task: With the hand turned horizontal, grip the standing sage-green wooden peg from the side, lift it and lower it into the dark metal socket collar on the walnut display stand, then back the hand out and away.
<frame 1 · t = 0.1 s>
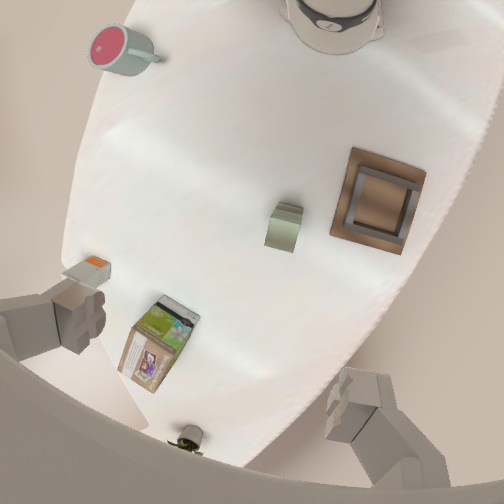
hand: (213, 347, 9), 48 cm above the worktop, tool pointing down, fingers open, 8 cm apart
green peg: (288, 216, 56), on the worktop
house plant: (197, 428, 83), on the worktop
tea box: (171, 326, 71), on the worktop
display stand: (378, 201, 52), on the worktop
mug: (143, 58, 51), on the worktop
skincare box: (101, 265, 69), on the worktop
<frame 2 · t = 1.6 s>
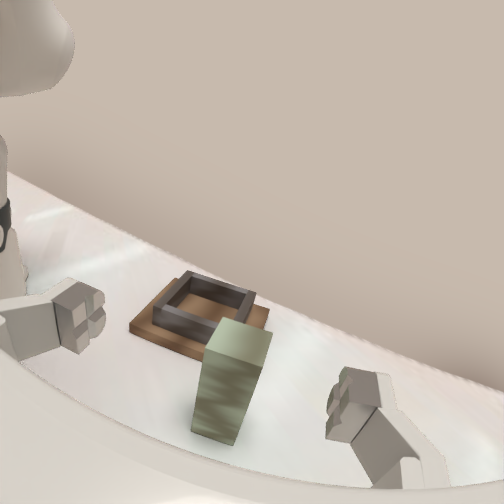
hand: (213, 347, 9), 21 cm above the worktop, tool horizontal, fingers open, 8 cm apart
green peg: (218, 423, 28), on the worktop
display stand: (203, 325, 43), on the worktop
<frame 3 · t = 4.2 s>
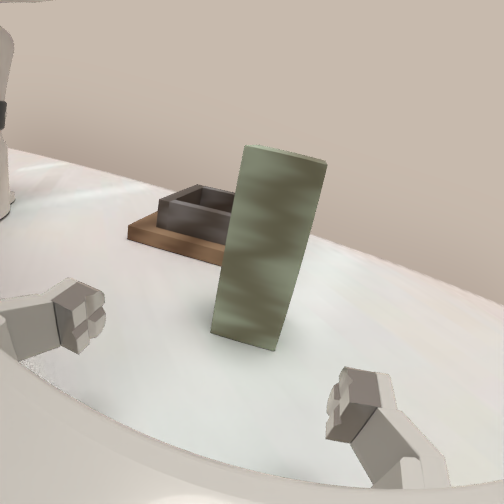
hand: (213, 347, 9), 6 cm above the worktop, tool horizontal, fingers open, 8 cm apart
green peg: (248, 324, 22), on the worktop
display stand: (217, 237, 37), on the worktop
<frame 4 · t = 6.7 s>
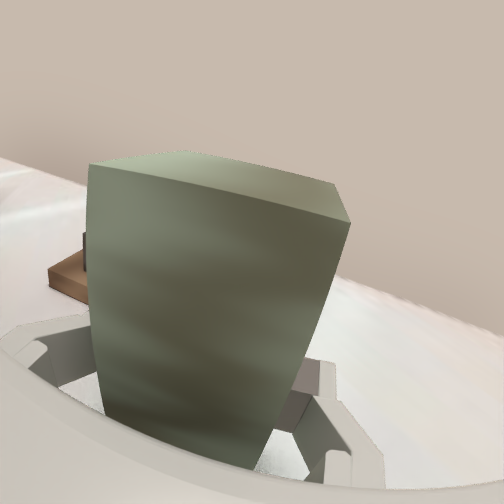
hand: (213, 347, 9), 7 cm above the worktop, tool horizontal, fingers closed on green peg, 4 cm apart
green peg: (190, 464, 11), on the worktop, touching gripper
display stand: (175, 280, 26), on the worktop
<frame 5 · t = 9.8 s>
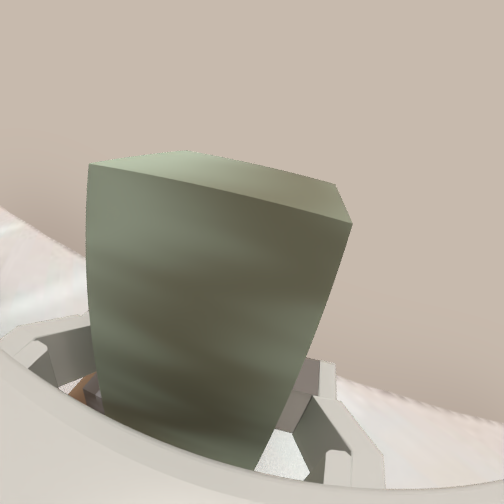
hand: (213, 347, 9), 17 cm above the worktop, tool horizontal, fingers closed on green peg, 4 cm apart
green peg: (190, 464, 11), point 10 cm above the worktop, touching gripper
display stand: (172, 404, 25), on the worktop
when the fingers open (10 cm above the worktop, at t = 12.8 s): green peg drops 1 cm, resting on display stand.
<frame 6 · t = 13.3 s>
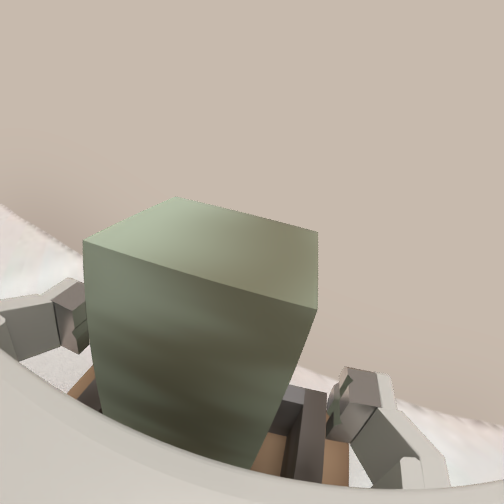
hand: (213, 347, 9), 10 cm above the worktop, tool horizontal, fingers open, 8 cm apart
green peg: (186, 475, 12), point 1 cm above the worktop, touching display stand
display stand: (186, 486, 12), on the worktop
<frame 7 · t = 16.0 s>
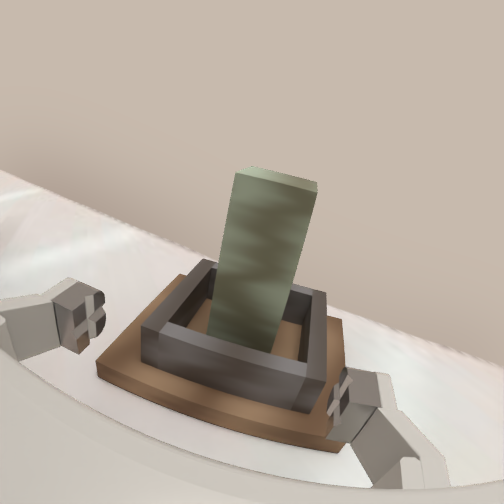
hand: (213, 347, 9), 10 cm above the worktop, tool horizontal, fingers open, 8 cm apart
green peg: (241, 340, 22), point 1 cm above the worktop, touching display stand
display stand: (238, 355, 23), on the worktop
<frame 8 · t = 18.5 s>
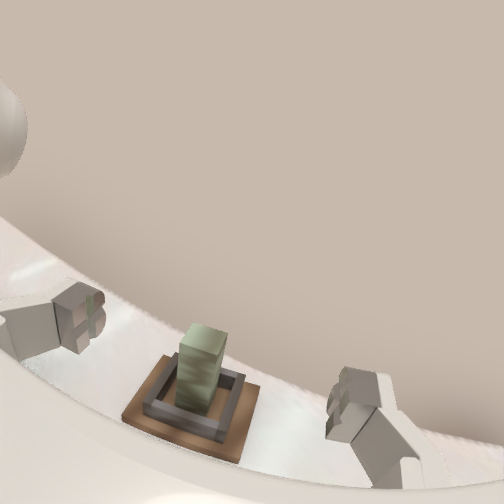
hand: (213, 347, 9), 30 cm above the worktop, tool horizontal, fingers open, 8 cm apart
green peg: (195, 401, 39), point 1 cm above the worktop, touching display stand
display stand: (194, 408, 40), on the worktop
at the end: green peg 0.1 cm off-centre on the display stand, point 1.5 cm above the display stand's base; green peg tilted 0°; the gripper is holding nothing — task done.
